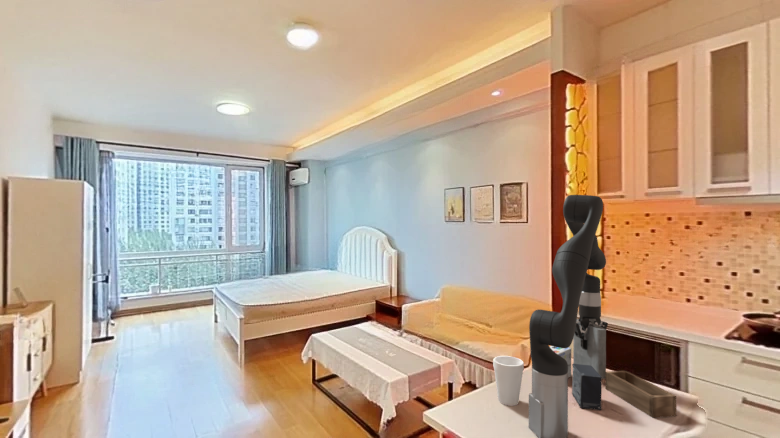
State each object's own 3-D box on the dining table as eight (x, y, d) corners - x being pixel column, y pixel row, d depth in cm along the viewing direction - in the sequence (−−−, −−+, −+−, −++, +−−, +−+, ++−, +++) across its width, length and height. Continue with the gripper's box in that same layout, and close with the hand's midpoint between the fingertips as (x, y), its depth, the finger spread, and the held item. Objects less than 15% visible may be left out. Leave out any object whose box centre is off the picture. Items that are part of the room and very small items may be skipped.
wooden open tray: (652, 417, 113) (652, 397, 114) (605, 388, 133) (605, 371, 133) (676, 416, 115) (676, 396, 115) (625, 387, 134) (625, 370, 135)
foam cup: (487, 400, 124) (487, 360, 124) (502, 391, 130) (502, 353, 131) (514, 411, 117) (514, 368, 117) (528, 401, 123) (529, 361, 124)
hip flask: (571, 363, 152) (571, 312, 152) (580, 362, 153) (580, 312, 153) (600, 379, 136) (600, 323, 137) (610, 378, 137) (610, 322, 137)
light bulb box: (554, 370, 150) (554, 343, 150) (572, 376, 144) (572, 347, 144) (540, 377, 143) (540, 348, 143) (558, 383, 138) (558, 353, 138)
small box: (603, 411, 118) (603, 376, 118) (580, 408, 119) (580, 375, 119) (592, 395, 128) (592, 364, 128) (571, 394, 129) (571, 362, 129)
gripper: (578, 306, 140) (578, 353, 140) (613, 305, 142) (613, 351, 142) (566, 301, 147) (566, 346, 147) (599, 301, 149) (599, 345, 149)
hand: (589, 348), depth 144 cm, fingers closed on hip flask, 4 cm apart
